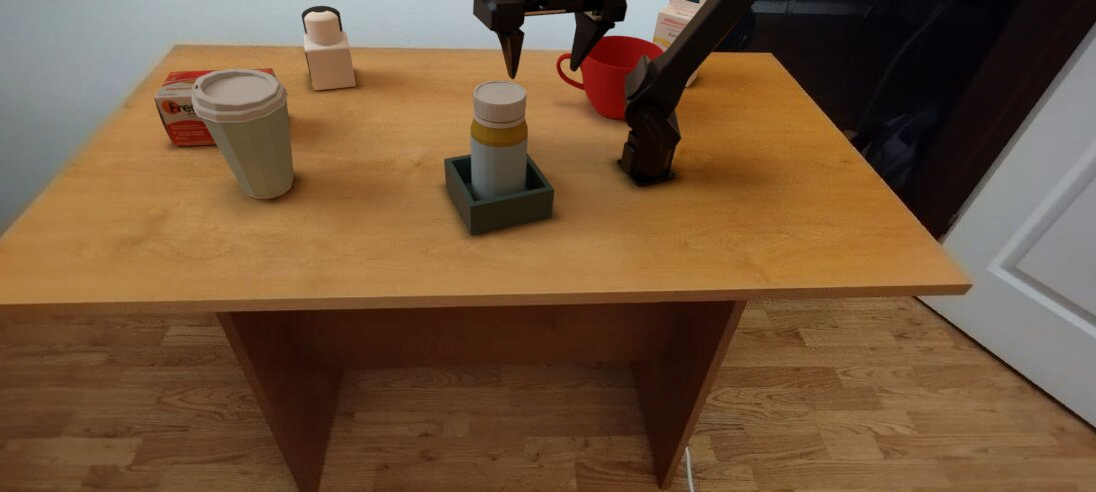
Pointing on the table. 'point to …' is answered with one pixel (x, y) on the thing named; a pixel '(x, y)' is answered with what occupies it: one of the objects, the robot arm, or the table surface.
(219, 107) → the disposable coffee cup
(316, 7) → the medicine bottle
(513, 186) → the bottle
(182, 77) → the medicine box
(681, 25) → the ink cartridge box
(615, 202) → the table surface
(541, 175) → the box
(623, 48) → the ceramic cup
